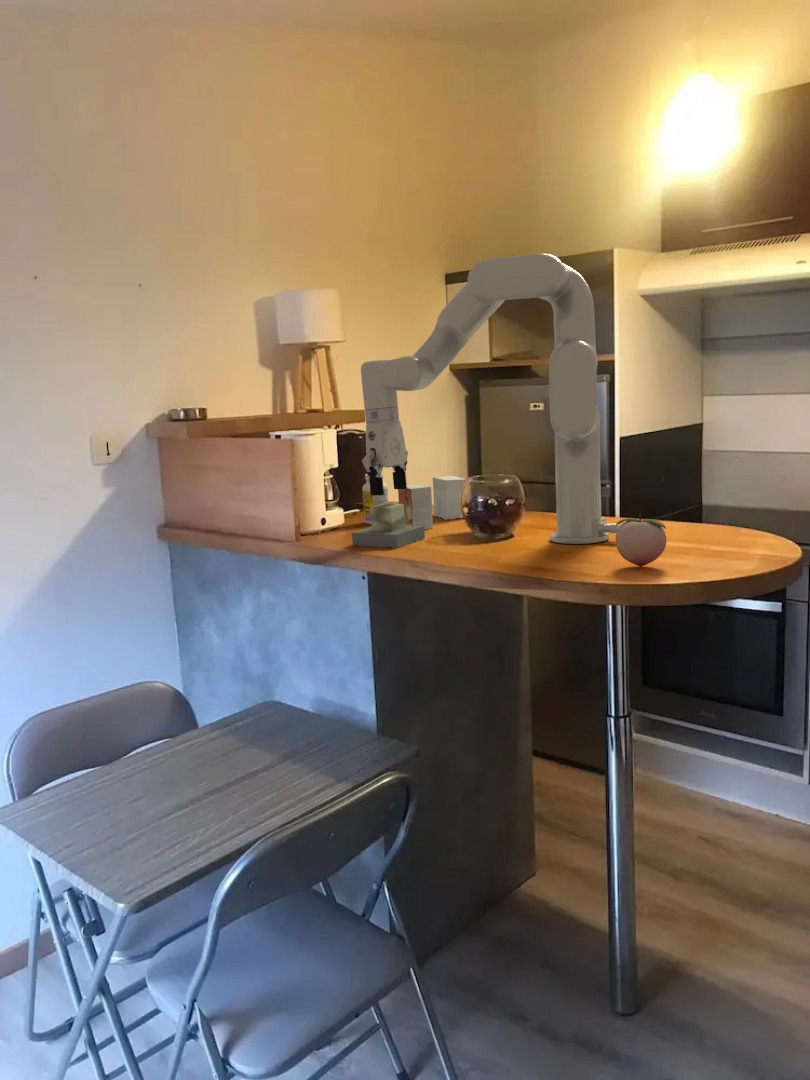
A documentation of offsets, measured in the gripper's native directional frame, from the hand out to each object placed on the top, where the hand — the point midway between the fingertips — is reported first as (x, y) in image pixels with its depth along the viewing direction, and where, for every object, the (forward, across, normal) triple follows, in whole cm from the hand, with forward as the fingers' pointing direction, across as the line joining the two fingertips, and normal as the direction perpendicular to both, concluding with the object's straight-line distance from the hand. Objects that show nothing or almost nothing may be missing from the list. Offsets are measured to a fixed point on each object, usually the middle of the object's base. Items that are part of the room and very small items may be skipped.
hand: (389, 492), depth 208 cm
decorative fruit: (+14, -11, -61) cm, 63 cm away
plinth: (+12, 0, +1) cm, 12 cm away
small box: (+12, +19, +5) cm, 23 cm away
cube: (+8, 0, +1) cm, 9 cm away
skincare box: (+12, +37, +5) cm, 39 cm away
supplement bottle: (+11, +24, +20) cm, 33 cm away
